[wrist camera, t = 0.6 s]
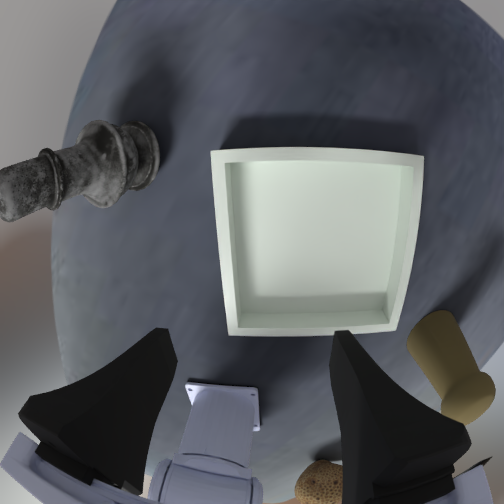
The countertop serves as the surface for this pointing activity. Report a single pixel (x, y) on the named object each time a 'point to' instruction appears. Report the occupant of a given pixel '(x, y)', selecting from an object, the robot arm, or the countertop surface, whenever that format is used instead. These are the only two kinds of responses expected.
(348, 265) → the tray
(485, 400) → the cork
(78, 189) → the gray chess piece
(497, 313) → the countertop surface
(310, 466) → the natural sponge
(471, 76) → the countertop surface
